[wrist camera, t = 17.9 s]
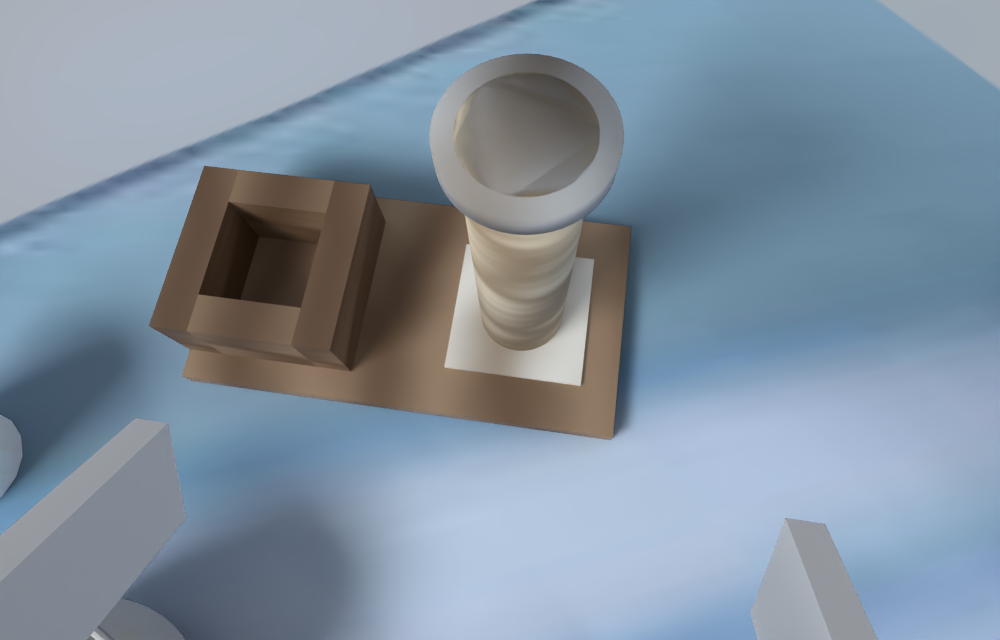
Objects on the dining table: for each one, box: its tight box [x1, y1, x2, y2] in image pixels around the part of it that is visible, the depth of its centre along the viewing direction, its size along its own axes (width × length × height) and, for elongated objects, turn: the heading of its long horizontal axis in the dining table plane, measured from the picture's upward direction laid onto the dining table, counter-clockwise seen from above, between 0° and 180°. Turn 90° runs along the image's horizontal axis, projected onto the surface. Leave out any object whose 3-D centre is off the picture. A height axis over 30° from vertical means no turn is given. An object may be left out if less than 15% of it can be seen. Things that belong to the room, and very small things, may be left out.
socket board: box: [149, 166, 631, 440], centre depth 33 cm, size 23×12×5 cm, turn 82°
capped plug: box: [430, 54, 624, 351], centre depth 26 cm, size 6×6×16 cm
